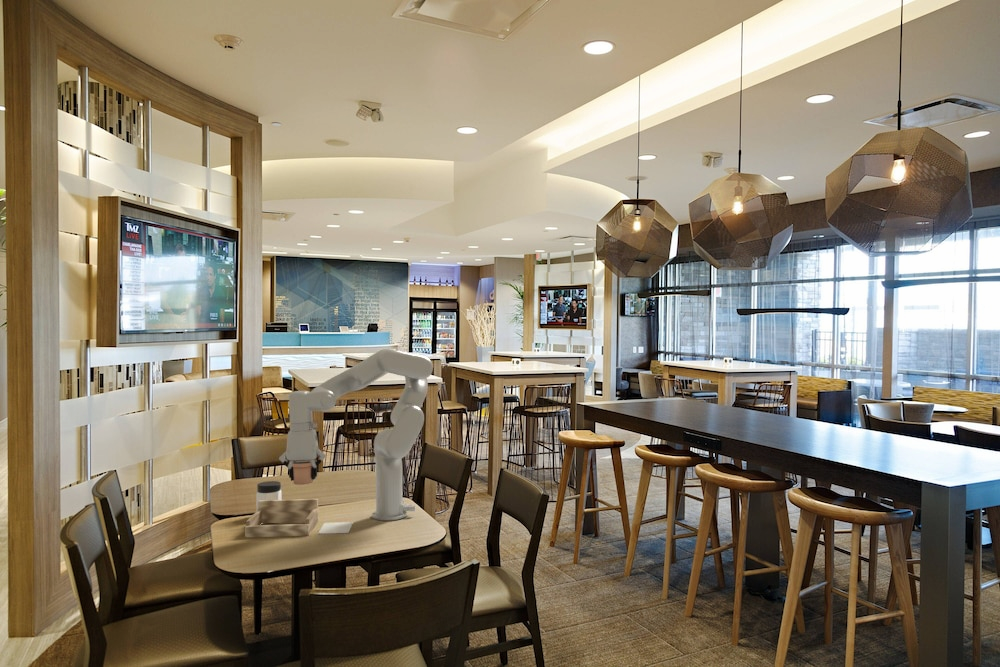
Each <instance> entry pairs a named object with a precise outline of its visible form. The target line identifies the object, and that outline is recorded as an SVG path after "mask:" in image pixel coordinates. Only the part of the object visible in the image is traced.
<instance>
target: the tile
mask: <svg viewBox="0 0 1000 667" xmlns="http://www.w3.org/2000/svg"><path fill="white" fill-rule="evenodd" d="M353 525H354V521H348V522H347V521H342V522H338V521H337V522H323V525H322V526H321V528H319V531H318V532H317V535H326V534H327V535H328V534H329V535H332V534H349V533H350V531H351V529H352V526H353Z"/></svg>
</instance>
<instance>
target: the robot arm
mask: <svg viewBox="0 0 1000 667" xmlns="http://www.w3.org/2000/svg"><path fill="white" fill-rule="evenodd" d="M433 370H434V366H433V362H432V361H431V359H430V358H428V357H427V356H424V355H421V354H420V355H419V354H414V353H409V352H405V351H401V350H397V349H390V348H385V349H384V348H383V349H379V350H378V351H376V352H375V353H374V354H371V355H370V356H369V357H367V358H365V359H363V360H362V361H360V362H358V363H357V364H355V365H354V366H352V367H350V368H348V369H347V370H343V372H340V373H339V374H337V375H335V376H333V377H331V378H328V380H326V381H324V382H322V383H321V384H319V385H317V386H316V387H314V388H313V389H312V390H311V391H309V390H295V391H292V392H289V394H288V404H289V405H288V408H289V413H288V414H289V431H288V433H287V437H286V450H285V451H284V452H283V453H282V454H281V455H280V456H279V458H278V460H279V461H280V462H281V463H282V464H283V465H284V466H285V467H286V468H287V469H288V477H289V479H290V481H292V482H294V481H293V467H292V463H293V462H295V461H307V460H310V462H312V469H311V471H312V480H313V481H314V480H315V479H317V477H318V466H319V465H320V464H321V463H322V461H323V460H324V459H326V457H327V454H326V453H324V452H323V451H322V450H321V449H319V442H318V441H319V440H318V435H317V431H316V429H314V428H318V423H317V422H314V421H313V420H314V419H313V418H314V417H313V412H328V411H331V410H332V409H333V408H334V407H336V404H337V399H338V398H340V397H341V396H344V395H346V394H348V393H353V392H356V391H360V390H362V389H364V388H367V387H368V386H370V385H371V384H373V383H374V382H375V381H377V380H379V379H380V378H382V377H384V376H386V375H387V374H388V373H389V374H394V375H397V376H401V377H402V376H403V377H404V379H405V383H404V384H405V385H404V389H403V391H402V393H401V394H400V396H399V398H398V400H397V402H396V403H395V405H394V407H393V409H392V410H391V413H390V422H391V423H392V425H393V428H384V429H382V430H380V431H379V432H378V433H377V434H376V435H375V437H374V441H373V442H374V443H373V445H374V446H373V449H374V457H375V501H376V502H375V505H376V506H375V508H376V510H375V511H373V512H372V513H371V518H372V519H373V520H376V521H385V522H386V521H396V520H401V519H404V518H406V517H407V515H408V512H415V511H416V506H415V505H413V504H405V501H404V500H403V460H402V459H403V458H405V457H406V456H407V455H408V454H409V453H410V451H411V449H412V448H413V446H414V444H415V442H416V441H417V438H418V437H419V434H420V433H421V430H422V428H423V426H424V423H425V413H424V411H423V410H422V409H421V408H422V405H423V403H424V402H425V399H426V396H427V395H428V389H429V388H428V387H429V382H428V378H429V377H430V376H431V375H432V373H433ZM319 456H320V457H319ZM318 457H319V458H318ZM317 458H318V459H317Z"/></svg>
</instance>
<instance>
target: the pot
mask: <svg viewBox="0 0 1000 667" xmlns="http://www.w3.org/2000/svg"><path fill="white" fill-rule="evenodd" d="M292 467H293V481H292V482H293V485H299V486H300V485H309V484H312V483H314V480H312V471H311V469H312V462H310V460H307V461H295V462H293V463H292Z"/></svg>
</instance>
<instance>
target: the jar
mask: <svg viewBox="0 0 1000 667" xmlns="http://www.w3.org/2000/svg"><path fill="white" fill-rule="evenodd" d="M256 485H257V486H256V488H257V490H256V494H255V496H256V499H255V500H256V506H255V507H256V511H257V510H258V501H259V500H283V499H282V496H283V495H282V488H281V487H282V486H281V485H282V484H281V482H280V481H276V480H274V481H273V480H271V481H269V480H268V481H262V482H258V483H257V484H256Z"/></svg>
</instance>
